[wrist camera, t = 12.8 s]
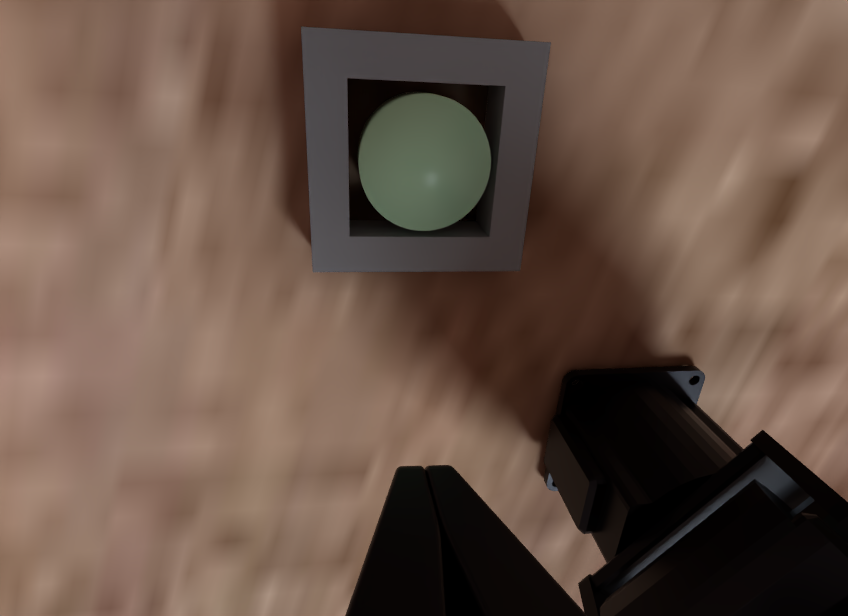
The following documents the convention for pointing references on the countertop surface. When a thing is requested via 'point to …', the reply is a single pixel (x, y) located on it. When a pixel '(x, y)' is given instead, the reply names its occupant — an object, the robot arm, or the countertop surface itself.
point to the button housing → (504, 127)
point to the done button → (423, 160)
